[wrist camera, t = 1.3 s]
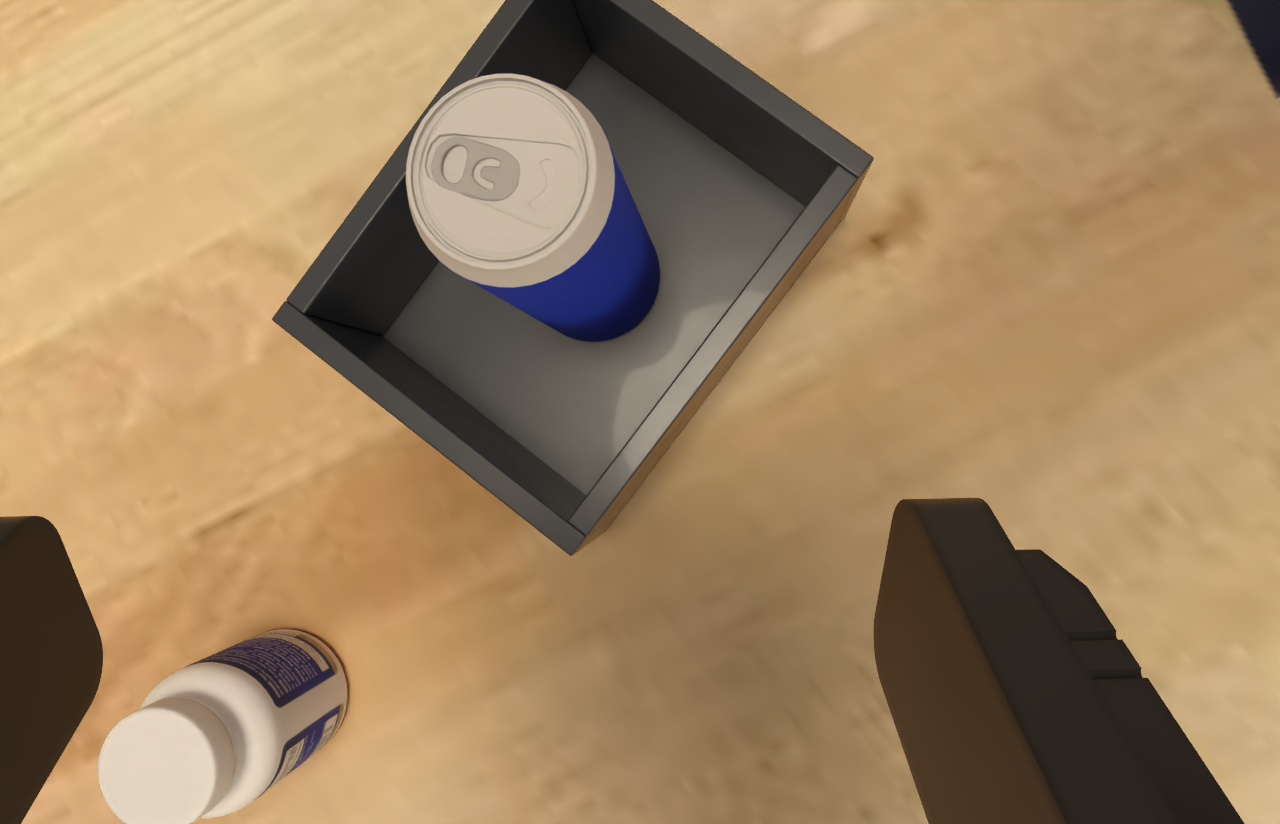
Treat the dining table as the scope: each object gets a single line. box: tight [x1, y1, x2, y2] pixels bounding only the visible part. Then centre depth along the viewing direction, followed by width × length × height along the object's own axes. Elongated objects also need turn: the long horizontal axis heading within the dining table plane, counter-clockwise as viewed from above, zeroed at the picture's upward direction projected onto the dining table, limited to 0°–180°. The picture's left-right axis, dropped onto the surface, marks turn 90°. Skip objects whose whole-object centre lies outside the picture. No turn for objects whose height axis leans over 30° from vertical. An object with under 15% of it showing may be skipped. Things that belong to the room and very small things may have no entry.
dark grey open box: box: [272, 0, 874, 556], centre depth 34 cm, size 16×13×8 cm
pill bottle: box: [98, 629, 347, 824], centre depth 34 cm, size 5×5×9 cm
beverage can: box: [406, 73, 660, 342], centre depth 29 cm, size 5×5×15 cm
